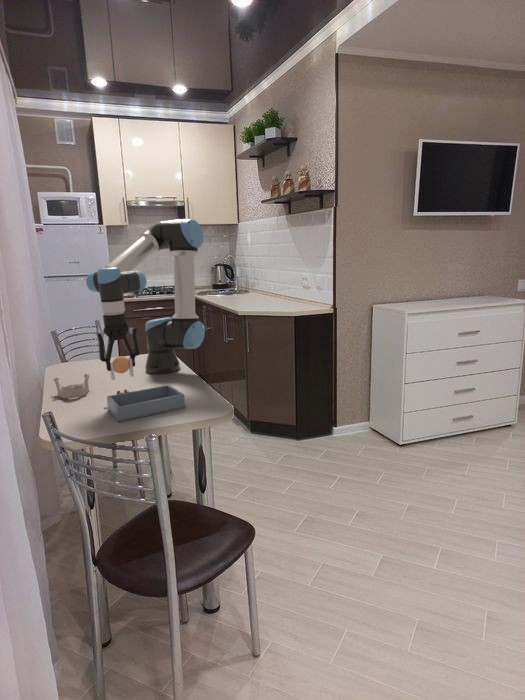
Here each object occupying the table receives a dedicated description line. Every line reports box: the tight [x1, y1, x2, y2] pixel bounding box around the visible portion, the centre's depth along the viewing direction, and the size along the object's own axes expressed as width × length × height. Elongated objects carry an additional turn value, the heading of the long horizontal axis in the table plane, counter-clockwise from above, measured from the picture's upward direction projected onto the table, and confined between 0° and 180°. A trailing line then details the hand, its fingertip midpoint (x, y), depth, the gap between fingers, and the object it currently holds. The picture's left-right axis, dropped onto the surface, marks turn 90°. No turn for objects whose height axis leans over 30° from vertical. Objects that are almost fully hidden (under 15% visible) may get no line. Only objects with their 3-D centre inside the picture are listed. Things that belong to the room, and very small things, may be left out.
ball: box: [112, 355, 130, 374], centre depth 162 cm, size 6×6×6 cm
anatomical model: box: [52, 372, 91, 400], centre depth 173 cm, size 13×11×10 cm
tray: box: [106, 384, 186, 423], centre depth 154 cm, size 22×15×5 cm
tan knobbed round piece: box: [116, 388, 130, 394], centre depth 164 cm, size 4×4×3 cm
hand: (122, 377), depth 163 cm, fingers closed on ball, 6 cm apart
